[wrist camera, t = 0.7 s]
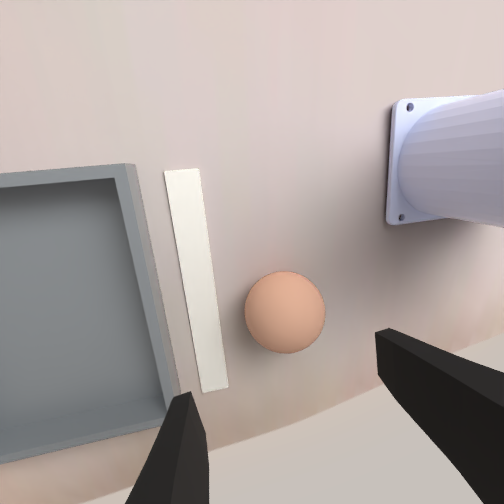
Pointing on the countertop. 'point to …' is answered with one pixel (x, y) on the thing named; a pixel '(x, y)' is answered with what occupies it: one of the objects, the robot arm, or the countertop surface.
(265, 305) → the ball
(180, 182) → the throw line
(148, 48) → the countertop surface
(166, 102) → the countertop surface
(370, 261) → the countertop surface
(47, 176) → the tray
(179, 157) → the countertop surface
